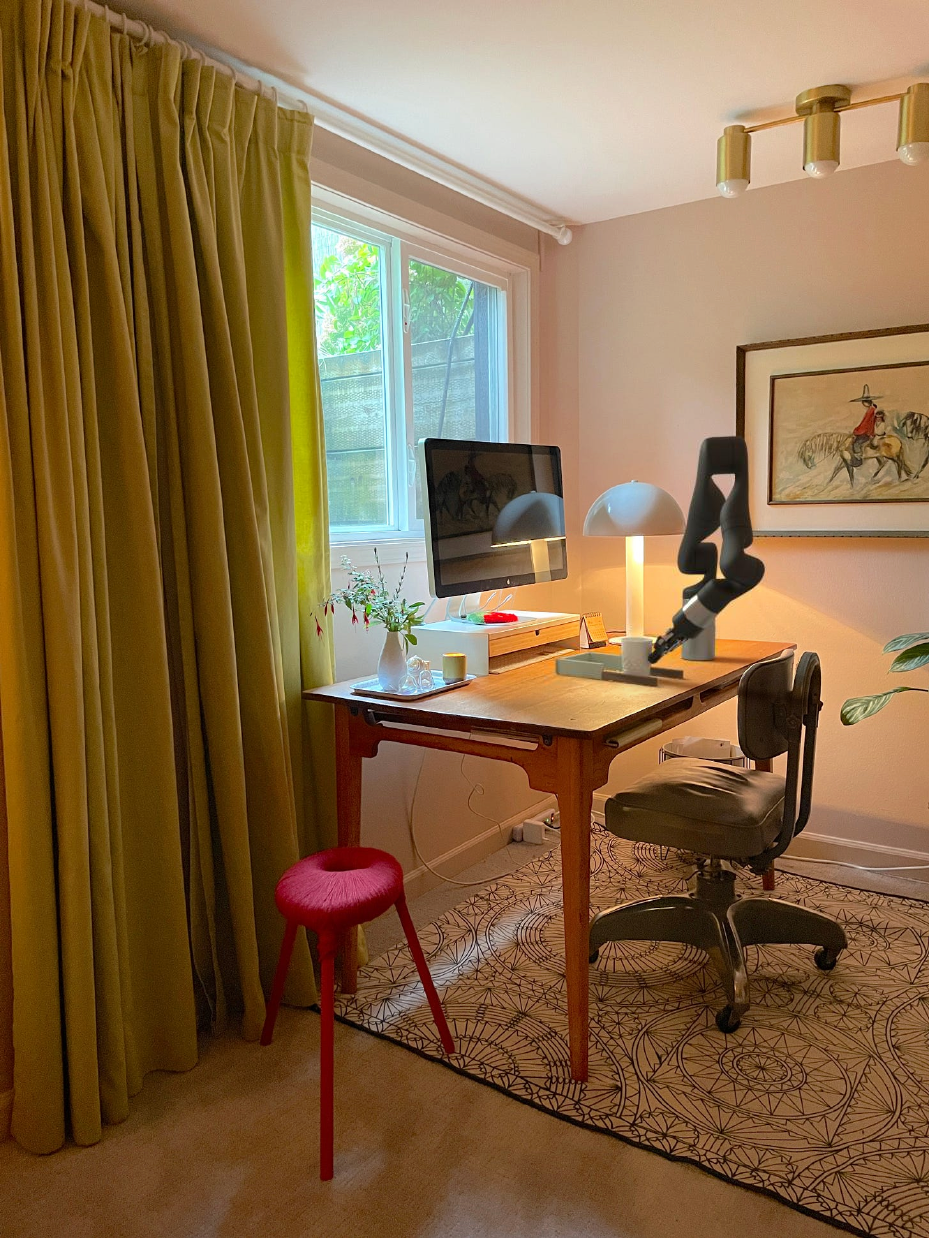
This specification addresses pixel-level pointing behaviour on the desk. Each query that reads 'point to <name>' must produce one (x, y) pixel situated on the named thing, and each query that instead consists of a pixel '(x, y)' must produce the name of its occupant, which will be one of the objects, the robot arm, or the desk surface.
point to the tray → (588, 664)
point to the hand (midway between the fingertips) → (650, 661)
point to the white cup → (636, 655)
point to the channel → (643, 679)
